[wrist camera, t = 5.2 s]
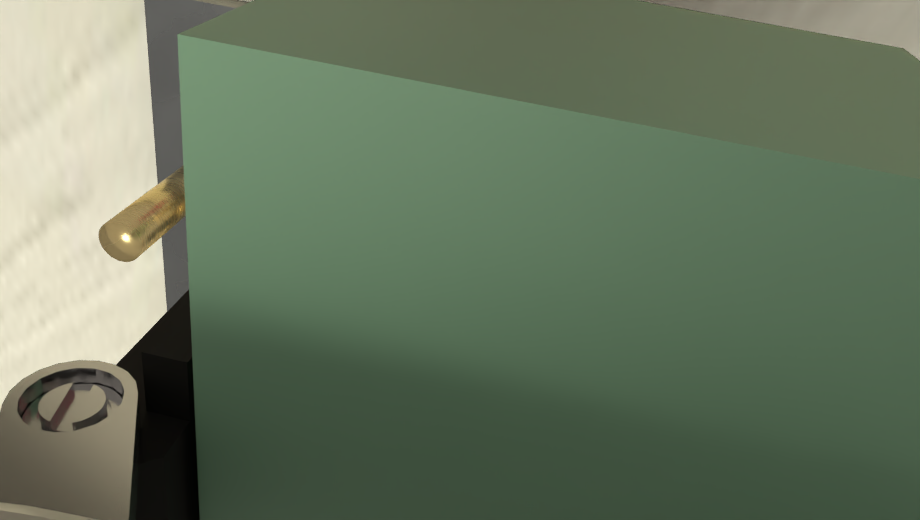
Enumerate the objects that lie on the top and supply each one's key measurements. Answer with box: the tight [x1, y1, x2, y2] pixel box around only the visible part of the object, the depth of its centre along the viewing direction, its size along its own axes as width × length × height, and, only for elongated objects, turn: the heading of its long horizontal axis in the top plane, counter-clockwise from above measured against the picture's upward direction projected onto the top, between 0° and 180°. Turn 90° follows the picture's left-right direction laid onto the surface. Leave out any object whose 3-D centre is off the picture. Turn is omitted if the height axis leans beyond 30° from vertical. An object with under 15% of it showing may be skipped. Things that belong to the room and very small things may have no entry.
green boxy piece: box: [177, 0, 920, 520], centre depth 10 cm, size 7×10×5 cm
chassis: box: [99, 0, 249, 311], centre depth 28 cm, size 14×20×7 cm
